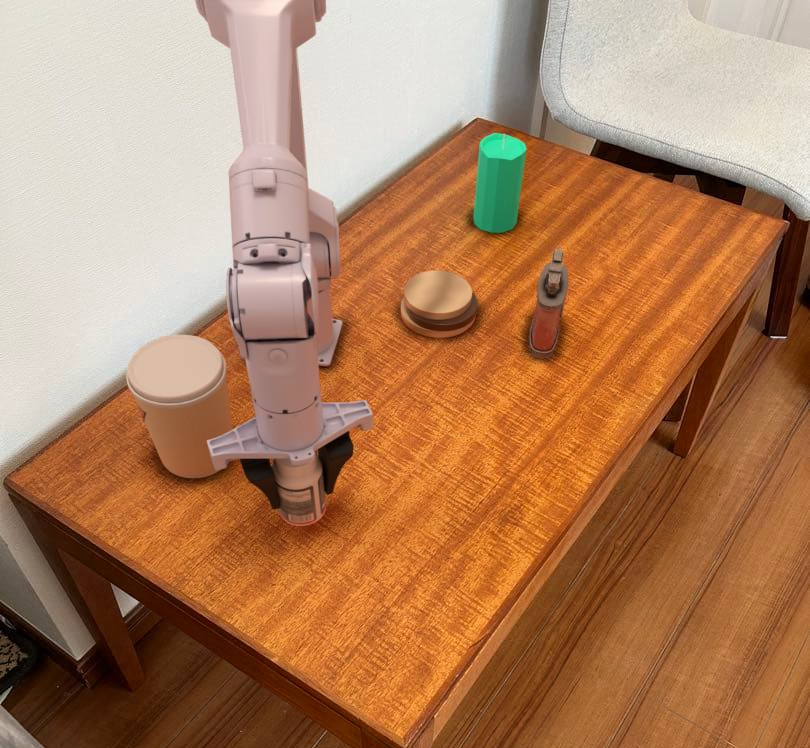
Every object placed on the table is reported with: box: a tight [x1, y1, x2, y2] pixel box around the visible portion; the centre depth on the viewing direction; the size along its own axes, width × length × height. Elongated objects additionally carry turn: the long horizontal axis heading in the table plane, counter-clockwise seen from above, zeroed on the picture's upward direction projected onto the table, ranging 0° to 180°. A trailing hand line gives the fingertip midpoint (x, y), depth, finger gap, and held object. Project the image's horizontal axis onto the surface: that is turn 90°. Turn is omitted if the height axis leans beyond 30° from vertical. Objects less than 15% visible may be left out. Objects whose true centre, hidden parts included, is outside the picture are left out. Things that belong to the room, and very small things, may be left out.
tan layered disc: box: [400, 269, 479, 339], centre depth 102 cm, size 9×9×3 cm
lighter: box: [528, 248, 570, 359], centre depth 97 cm, size 8×3×10 cm, turn 169°
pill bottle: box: [271, 449, 327, 527], centre depth 80 cm, size 5×5×8 cm
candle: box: [473, 132, 527, 234], centre depth 111 cm, size 6×6×12 cm
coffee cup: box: [125, 334, 234, 479], centre depth 85 cm, size 9×9×12 cm
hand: (299, 494), depth 81 cm, fingers closed on pill bottle, 5 cm apart
